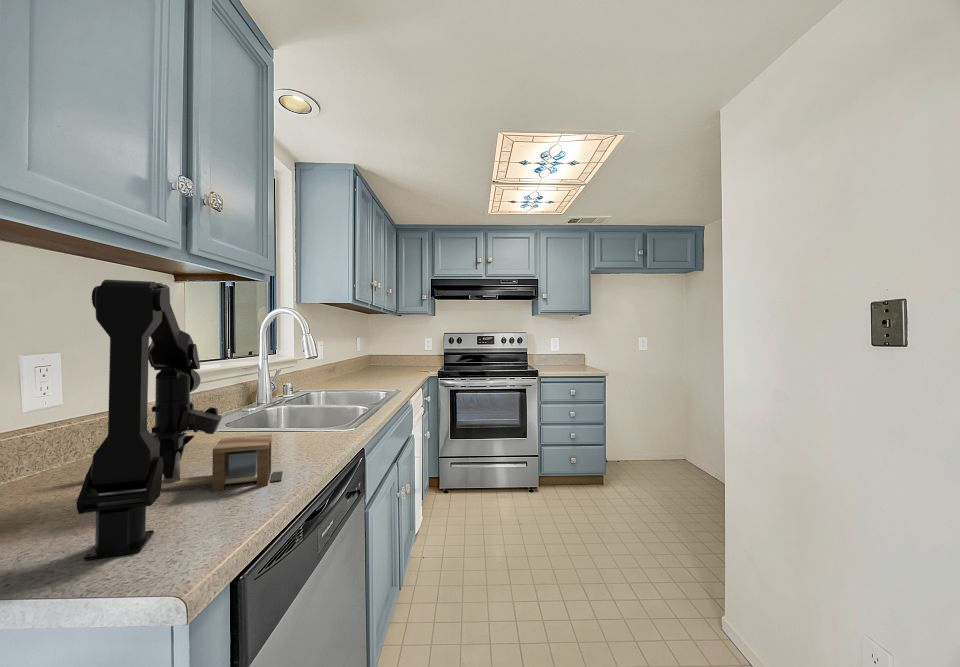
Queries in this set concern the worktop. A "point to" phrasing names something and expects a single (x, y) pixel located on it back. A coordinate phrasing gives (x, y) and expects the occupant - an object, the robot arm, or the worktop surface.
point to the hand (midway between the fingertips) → (171, 475)
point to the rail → (170, 488)
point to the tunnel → (241, 444)
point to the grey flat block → (276, 476)
